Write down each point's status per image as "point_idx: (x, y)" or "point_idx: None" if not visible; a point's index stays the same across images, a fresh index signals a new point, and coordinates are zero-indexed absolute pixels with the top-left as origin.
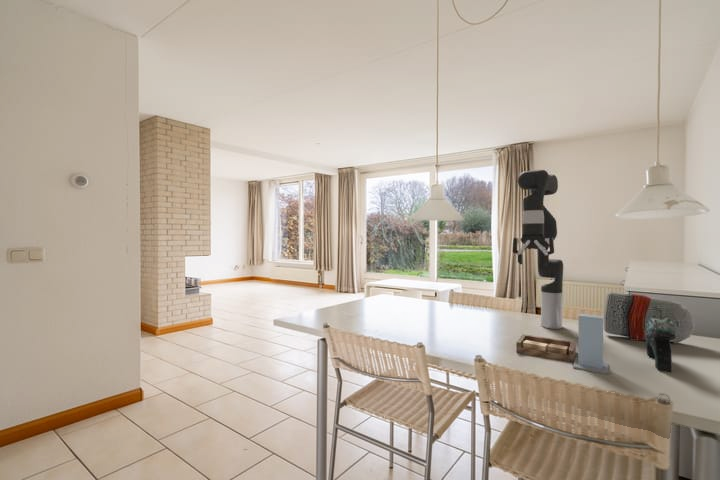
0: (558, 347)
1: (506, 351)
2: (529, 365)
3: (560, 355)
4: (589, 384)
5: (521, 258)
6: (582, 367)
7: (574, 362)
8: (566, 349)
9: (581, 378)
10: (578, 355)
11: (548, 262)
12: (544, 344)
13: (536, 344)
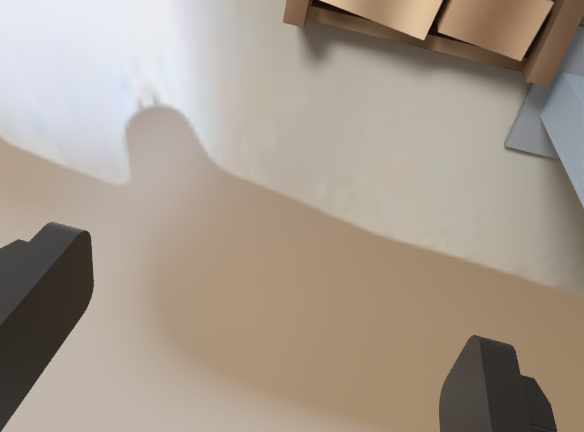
0: (491, 37)
1: (248, 8)
2: (338, 159)
3: (486, 61)
4: (501, 266)
5: (34, 382)
6: (541, 148)
7: (531, 97)
8: (527, 47)
9: (495, 229)
10: (548, 133)
11: (536, 416)
12: (427, 1)
13: (383, 16)
